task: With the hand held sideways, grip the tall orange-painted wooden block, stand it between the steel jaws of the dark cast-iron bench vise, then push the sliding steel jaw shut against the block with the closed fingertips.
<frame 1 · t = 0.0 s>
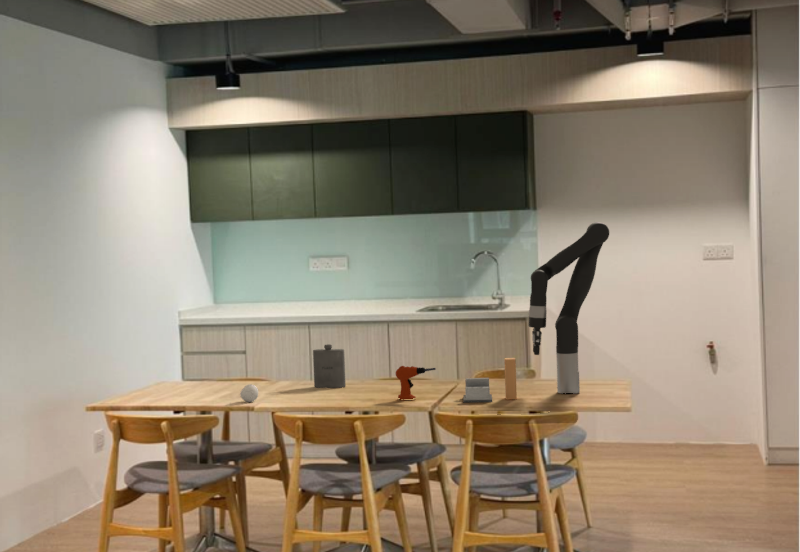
hand: (536, 353, 460), 17 cm above the table, tool pointing down, fingers open, 8 cm apart
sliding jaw: (477, 386, 454), point 5 cm above the table, slide at 0.0 cm
gray round stone: (250, 402, 464), on the table
flask: (329, 387, 499), on the table
toy drill: (416, 400, 454), on the table
vise: (477, 399, 450), on the table
orange block: (511, 398, 449), on the table
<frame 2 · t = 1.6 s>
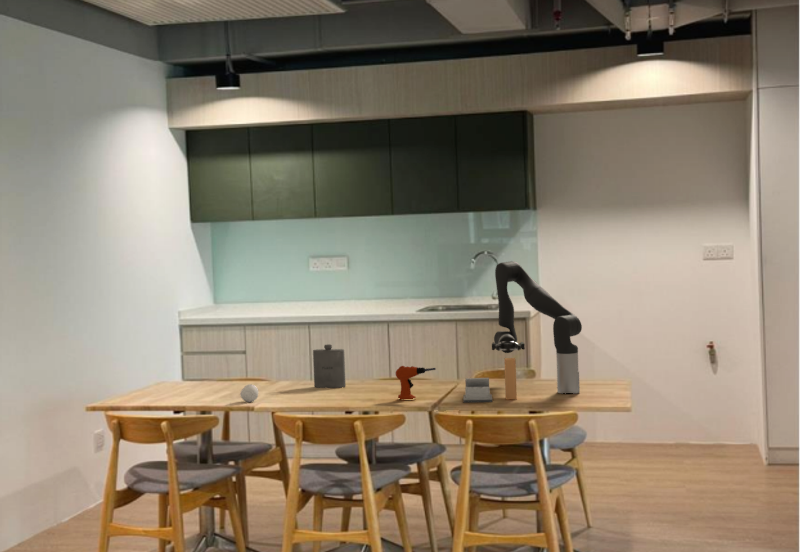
hand: (508, 348, 459), 20 cm above the table, tool horizontal, fingers open, 8 cm apart
nothing on the table moved.
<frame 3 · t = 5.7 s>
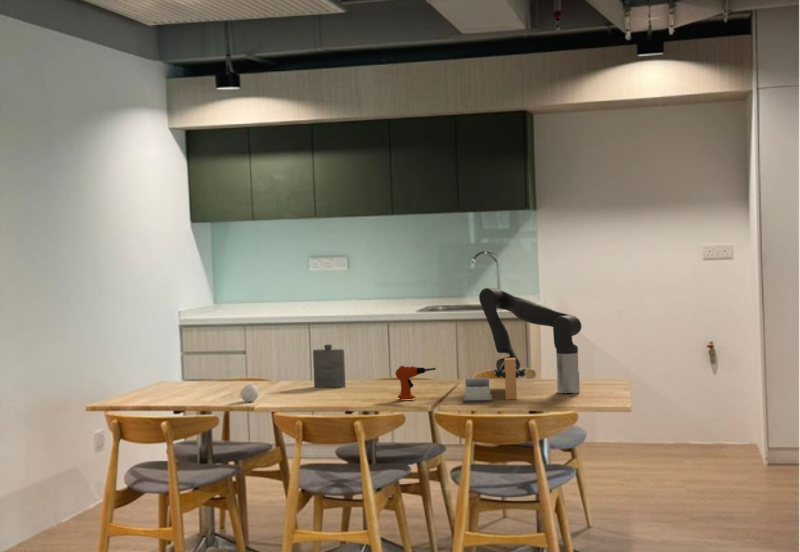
hand: (510, 375, 445), 10 cm above the table, tool horizontal, fingers closed on orange block, 4 cm apart
orange block: (511, 398, 449), on the table, touching gripper
everything else where it was.
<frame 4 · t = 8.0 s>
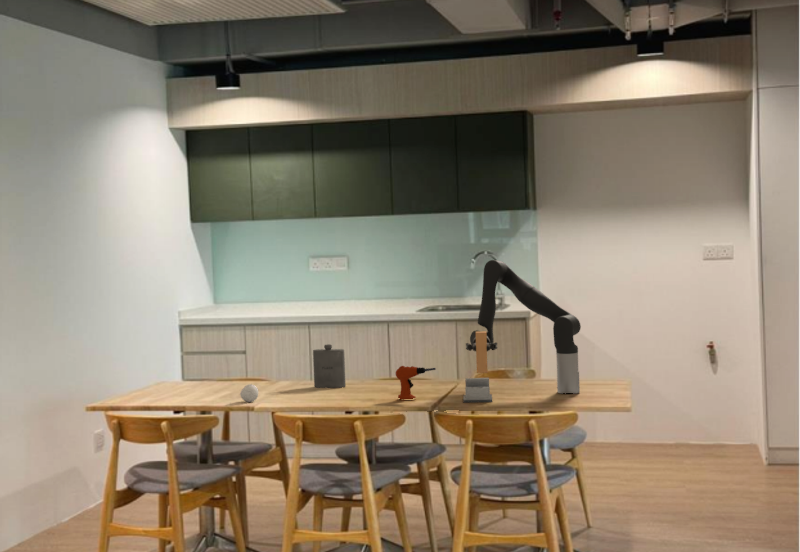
hand: (481, 348, 445), 22 cm above the table, tool horizontal, fingers closed on orange block, 4 cm apart
orange block: (482, 372, 448), point 12 cm above the table, touching gripper
everything else where it was.
when the fingers open (13 cm above the table, at t = 10.3 s): orange block drops 2 cm, resting on vise.
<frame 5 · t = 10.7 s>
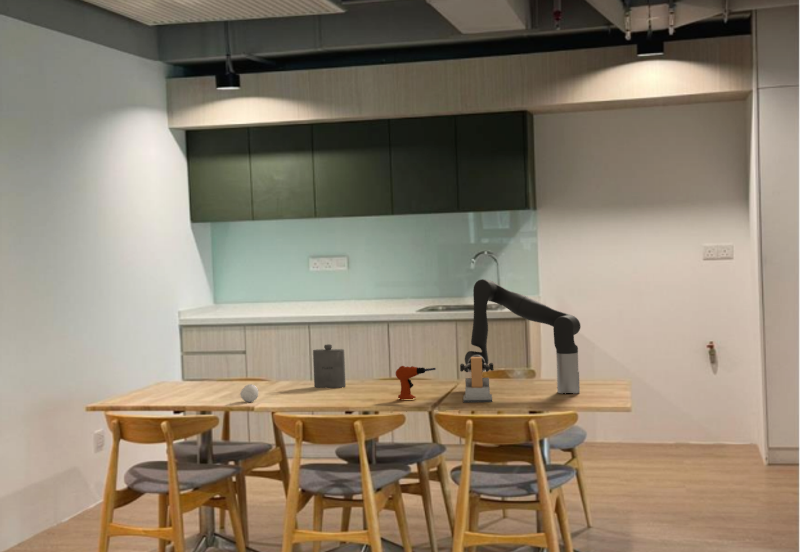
hand: (476, 369, 445), 13 cm above the table, tool horizontal, fingers open, 8 cm apart
orange block: (477, 397, 448), point 1 cm above the table, touching vise
everything else where it was.
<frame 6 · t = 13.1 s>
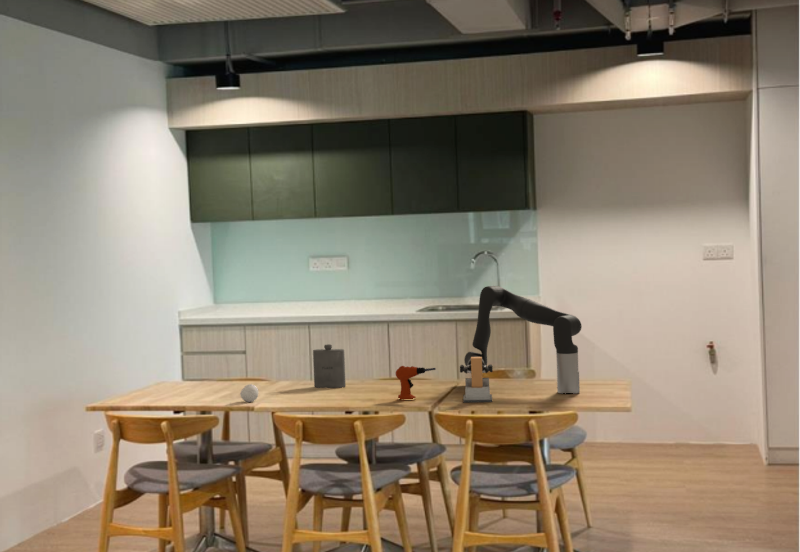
hand: (476, 371, 460), 11 cm above the table, tool horizontal, fingers open, 8 cm apart
nothing on the table moved.
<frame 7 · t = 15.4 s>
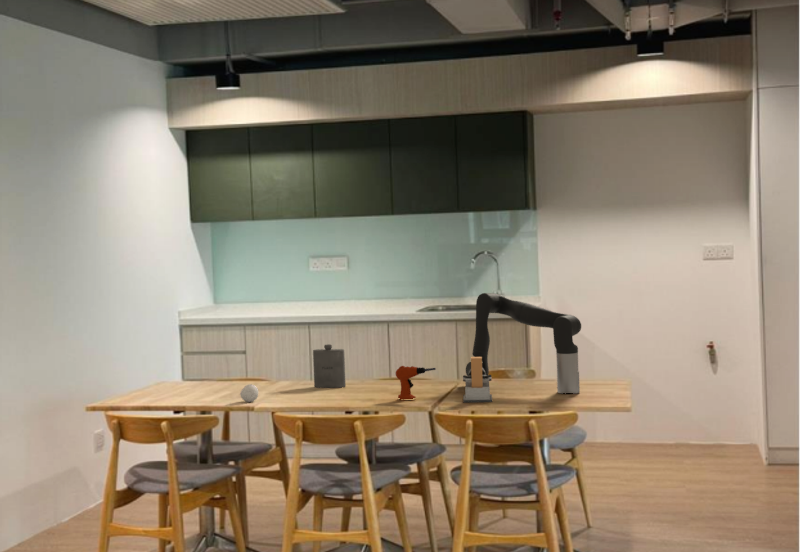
hand: (477, 381, 455), 7 cm above the table, tool horizontal, fingers closed
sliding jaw: (477, 386, 453), point 5 cm above the table, slide at 1.0 cm, touching gripper
everything else where it was.
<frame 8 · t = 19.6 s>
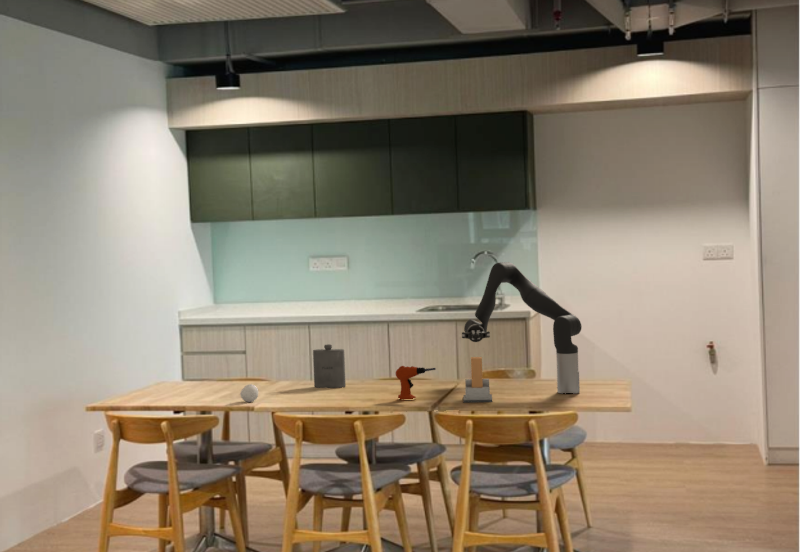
hand: (475, 336, 462), 25 cm above the table, tool horizontal, fingers closed
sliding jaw: (477, 387, 451), point 5 cm above the table, slide at 3.0 cm
everything else where it was.
at the end: orange block 0.2 cm from the target spot on the vise, point 1.0 cm above the vise's base; orange block tilted 0°; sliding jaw slide at 3.0 cm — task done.
